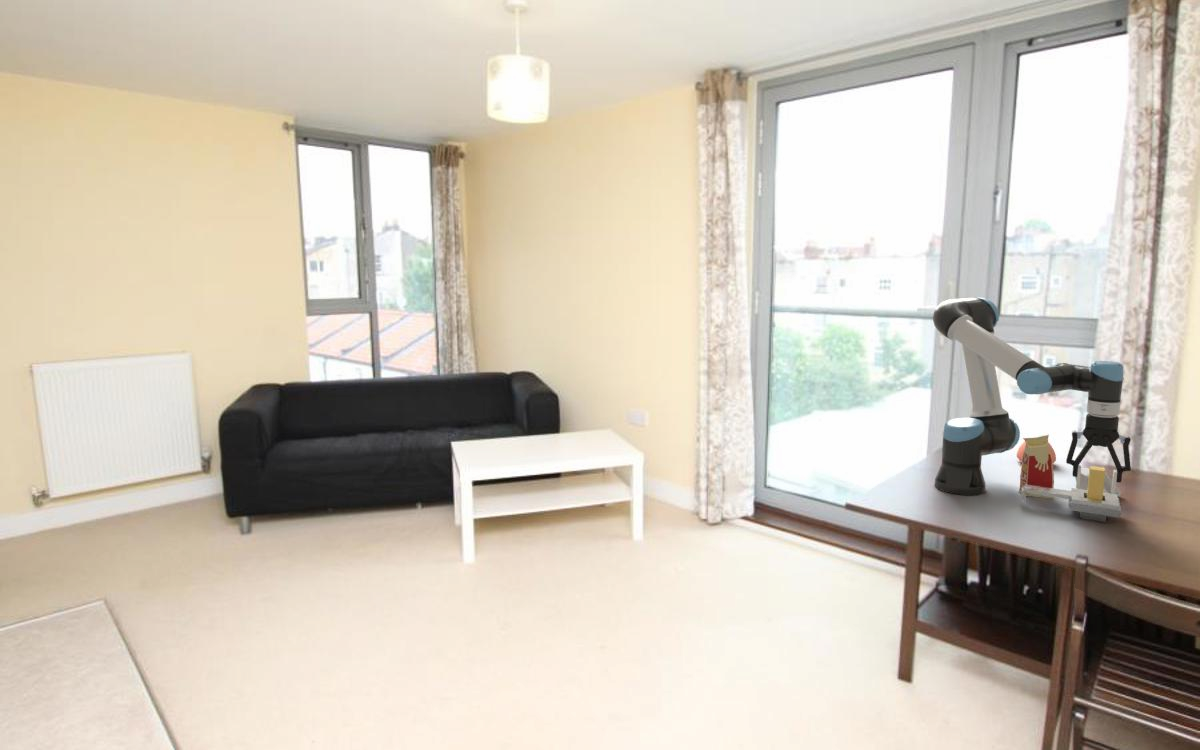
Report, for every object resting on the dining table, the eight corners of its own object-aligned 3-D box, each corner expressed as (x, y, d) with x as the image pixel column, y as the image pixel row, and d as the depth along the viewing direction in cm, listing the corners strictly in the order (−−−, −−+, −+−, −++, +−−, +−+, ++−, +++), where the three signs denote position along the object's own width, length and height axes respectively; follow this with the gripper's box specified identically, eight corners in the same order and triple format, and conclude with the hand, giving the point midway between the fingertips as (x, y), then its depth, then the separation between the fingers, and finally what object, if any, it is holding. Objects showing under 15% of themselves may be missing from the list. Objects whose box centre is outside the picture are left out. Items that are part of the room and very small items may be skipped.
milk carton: (1047, 489, 216) (1052, 431, 213) (1053, 499, 208) (1059, 438, 205) (1015, 486, 220) (1020, 429, 217) (1020, 495, 212) (1025, 436, 208)
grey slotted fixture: (1019, 511, 199) (1020, 492, 198) (1021, 499, 209) (1023, 480, 208) (1119, 527, 185) (1121, 507, 184) (1117, 513, 195) (1119, 494, 194)
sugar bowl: (1011, 464, 243) (1013, 438, 241) (1022, 456, 252) (1024, 430, 251) (1050, 471, 234) (1052, 443, 233) (1060, 462, 244) (1062, 436, 242)
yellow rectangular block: (1086, 507, 192) (1090, 469, 190) (1086, 504, 195) (1089, 465, 193) (1101, 510, 190) (1105, 471, 188) (1100, 506, 193) (1104, 467, 191)
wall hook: (1128, 499, 204) (1123, 469, 203) (1092, 505, 206) (1086, 476, 205) (1114, 491, 211) (1108, 462, 210) (1079, 497, 214) (1073, 468, 213)
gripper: (1059, 413, 191) (1052, 487, 195) (1150, 421, 179) (1141, 500, 183) (1059, 408, 197) (1053, 480, 201) (1147, 415, 185) (1139, 492, 189)
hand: (1095, 489), depth 192 cm, fingers open, 8 cm apart
